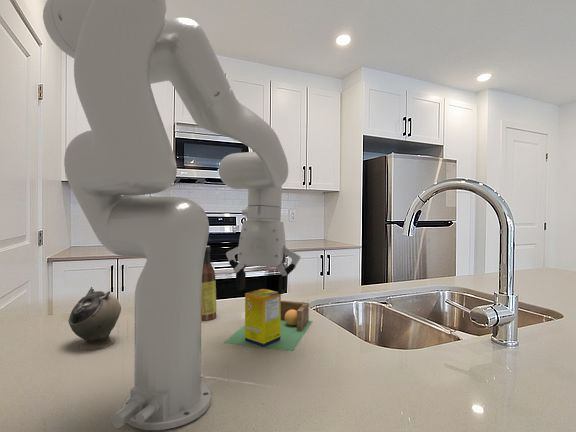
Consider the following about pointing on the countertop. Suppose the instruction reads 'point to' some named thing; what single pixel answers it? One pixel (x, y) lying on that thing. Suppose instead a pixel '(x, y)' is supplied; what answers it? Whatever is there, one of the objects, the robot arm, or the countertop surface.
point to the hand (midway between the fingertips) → (260, 291)
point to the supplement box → (262, 317)
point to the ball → (291, 317)
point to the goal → (301, 312)
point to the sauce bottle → (208, 289)
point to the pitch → (286, 342)
